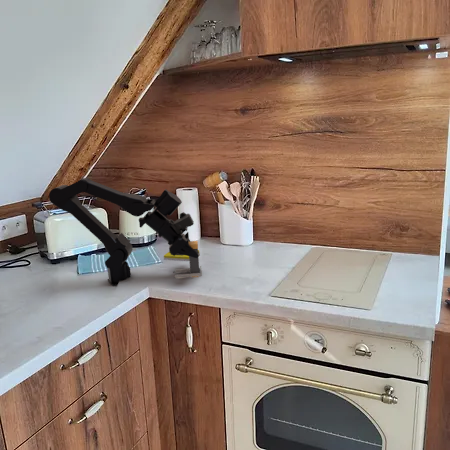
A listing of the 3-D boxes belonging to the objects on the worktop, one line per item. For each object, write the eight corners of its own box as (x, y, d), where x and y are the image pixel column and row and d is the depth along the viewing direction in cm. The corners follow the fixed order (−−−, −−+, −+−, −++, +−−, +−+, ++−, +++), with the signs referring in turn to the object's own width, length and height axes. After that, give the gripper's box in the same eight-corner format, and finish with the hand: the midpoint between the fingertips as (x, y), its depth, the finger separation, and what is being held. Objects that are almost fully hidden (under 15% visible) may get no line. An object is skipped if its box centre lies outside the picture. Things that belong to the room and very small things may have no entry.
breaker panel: (171, 282, 152) (170, 273, 152) (172, 275, 159) (171, 267, 158) (202, 280, 153) (202, 271, 152) (202, 273, 160) (201, 264, 159)
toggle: (190, 275, 154) (187, 244, 151) (190, 272, 158) (187, 241, 155) (199, 275, 154) (197, 244, 152) (199, 271, 158) (197, 240, 155)
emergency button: (169, 245, 181) (205, 247, 176) (170, 256, 182) (206, 258, 177) (158, 252, 173) (195, 254, 168) (159, 263, 174) (196, 266, 169)
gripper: (176, 213, 141) (215, 245, 144) (178, 201, 159) (212, 230, 162) (153, 239, 143) (191, 271, 146) (157, 225, 161) (191, 253, 164)
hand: (197, 255), depth 154 cm, fingers closed on toggle, 4 cm apart
